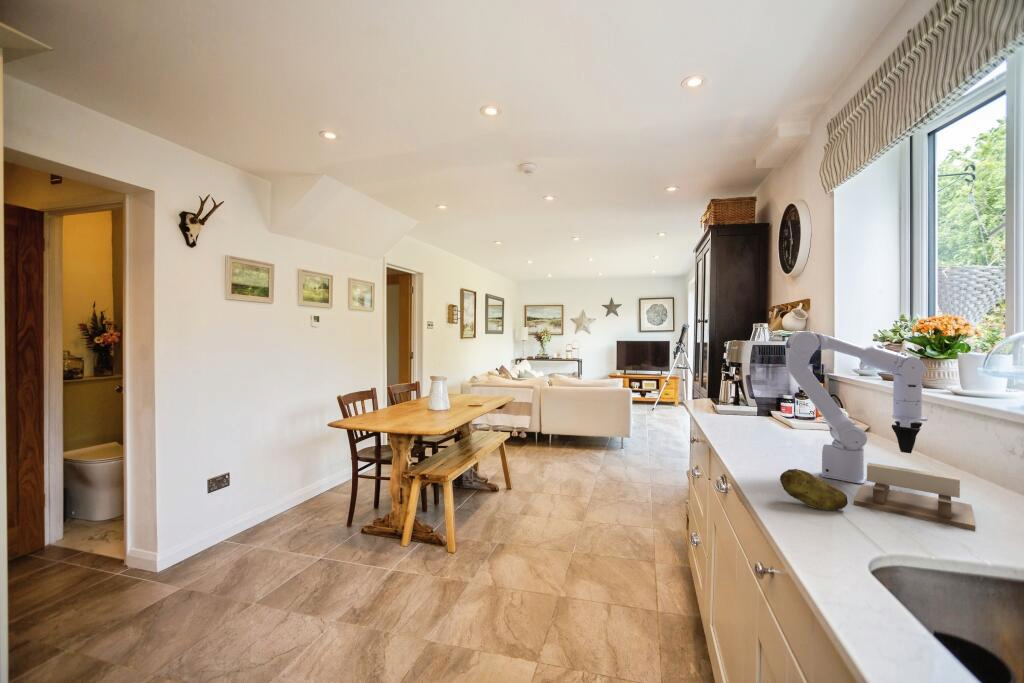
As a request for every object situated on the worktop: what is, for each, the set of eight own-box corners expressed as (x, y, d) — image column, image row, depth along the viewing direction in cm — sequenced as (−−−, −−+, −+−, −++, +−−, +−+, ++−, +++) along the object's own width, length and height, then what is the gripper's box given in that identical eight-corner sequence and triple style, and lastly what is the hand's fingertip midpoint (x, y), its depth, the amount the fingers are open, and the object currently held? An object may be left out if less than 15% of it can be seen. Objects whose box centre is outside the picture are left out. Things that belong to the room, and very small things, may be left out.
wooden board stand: (853, 504, 104) (853, 485, 104) (862, 487, 115) (862, 471, 115) (975, 530, 90) (975, 508, 90) (971, 508, 101) (971, 489, 101)
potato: (840, 519, 95) (840, 483, 95) (775, 502, 105) (776, 469, 105) (850, 509, 101) (850, 475, 101) (788, 494, 111) (788, 463, 111)
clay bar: (866, 481, 107) (867, 465, 107) (868, 478, 109) (868, 462, 109) (959, 498, 96) (959, 480, 96) (959, 494, 98) (959, 477, 98)
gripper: (926, 404, 110) (926, 458, 110) (928, 399, 120) (928, 447, 120) (889, 402, 115) (889, 452, 115) (894, 396, 125) (894, 443, 125)
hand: (907, 450), depth 118 cm, fingers open, 7 cm apart
